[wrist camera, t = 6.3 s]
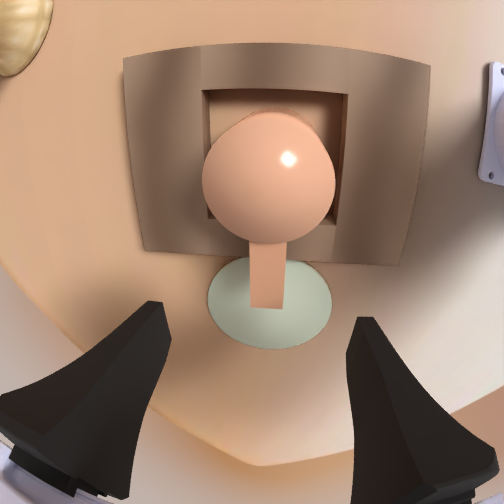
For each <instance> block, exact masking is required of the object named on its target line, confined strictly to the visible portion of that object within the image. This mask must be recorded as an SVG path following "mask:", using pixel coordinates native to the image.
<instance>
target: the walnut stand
mask: <svg viewBox="0 0 504 504" xmlns="http://www.w3.org/2000/svg"><path fill="white" fill-rule="evenodd" d="M430 70H431V66H430V65H427V64H423V63H419V62H415V61H411V60H407V59H403V58H398V57H394V56H389V55H384V54H379V53H373V52H368V51H362V50H355V49H348V48H340V47H331V46H321V45H309V44H292V43H234V44H217V45H205V46H195V47H186V48H178V49H171V50H164V51H158V52H152V53H147V54H141V55H136V56H131V57H127V58H123V74H124V94H125V109H126V122H127V133H128V143H129V152H130V160H131V168H132V176H133V183H134V190H135V196H136V203H137V209H138V215H139V221H140V226H141V232H142V237H143V242H144V247H145V251H155V252H170V253H186V254H202V255H217V256H233V257H250V253H249V240H246V239H243V238H241V237H239V236H237V235H235V234H234V233H232V232H230V231H229V230H228V229H226V228H225V227H224V226H223V225H222V224H221V223H220V222H219V221H218V220H217V219H216V218H215V216H214V215H213V214H212V212H211V210H210V209H209V207H208V205H207V202H206V200H205V196H204V193H203V187H202V172H203V166H204V162H205V159H206V157H207V155H208V152H209V151H210V149H211V144H210V115H209V89H235V88H271V89H296V90H312V91H324V92H334V93H343V107H342V124H341V139H340V151H339V163H338V174H337V184H336V193H335V202H334V211H333V215H329V214H326V215H325V217H324V218H323V220H322V221H321V222H320V223H319V224H318V225H317V226H316V227H315V228H314V229H313V230H311V231H310V232H308V233H307V234H306V235H304V236H302V237H300V238H298V239H295V240H292V241H289V242H287V249H286V260H299V261H316V262H334V263H351V264H369V265H387V266H399V263H400V259H401V255H402V252H403V248H404V244H405V240H406V236H407V232H408V228H409V224H410V220H411V215H412V211H413V206H414V201H415V196H416V191H417V186H418V181H419V175H420V169H421V163H422V157H423V150H424V142H425V135H426V126H427V116H428V105H429V91H430Z"/></svg>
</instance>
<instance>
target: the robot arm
mask: <svg viewBox="0 0 504 504" xmlns="http://www.w3.org/2000/svg"><path fill="white" fill-rule="evenodd" d="M501 69H502V70H503V75H502V73H501ZM490 172H491V176H490V177H489V173H490ZM478 176H479V178H480V179H481V180H483V181H485V182H489V183H493V184H497V185H501V186H504V65H503V64H501V63H499V62H496V61H493V62H491V63H490V66H489V93H488V106H487V117H486V126H485V134H484V141H483V147H482V153H481V159H480V164H479V170H478ZM171 340H172V339H171V335H170V331H169V327H168V323H167V319H166V315H165V311H164V307H163V303H162V302H156V301H147V302H146V303H145V304H143V305H142V306H141V307H140V308H139V309H138V310H137V311H136V312H134V313H133V314H132V315H131V316H130V317H129V318H128V319H127V320H125V321H124V322H123V323H122V324H121V325H120V326H119V327H117V328H116V329H115V330H114V331H113V332H112V333H110V334H109V335H108V336H107V337H106V338H104V339H103V340H102V341H101V342H99V343H98V344H97V345H96V346H94V347H93V348H92V349H90V350H89V351H88V352H86V353H85V354H84V355H82V356H81V357H79V358H78V359H76V360H75V361H73V362H72V363H70V364H69V365H67V366H65V367H63V368H62V369H60V370H58V371H56V372H55V373H53V374H51V375H49V376H47V377H45V378H43V379H41V380H39V381H37V382H35V383H32V384H30V385H28V386H25V387H23V388H20V389H17V390H14V391H11V392H8V393H5V394H2V395H1V396H0V432H1V433H2V434H3V435H4V436H5V437H7V438H8V439H9V440H10V441H11V442H12V443H14V444H15V445H14V447H13V449H12V448H10V447H9V446H8V445H6V444H5V443H3V442H2V441H1V440H0V504H113V503H110V502H108V501H105V500H103V499H100V498H98V497H97V495H98V494H99V495H102V496H104V497H107V495H109V496H112V497H114V498H118V499H120V500H123V499H126V498H128V497H129V490H130V480H131V473H132V466H133V460H134V455H135V450H136V446H137V441H138V437H139V432H140V429H141V424H142V421H143V417H144V414H145V411H146V408H147V406H148V403H149V401H150V398H151V396H152V393H153V391H154V388H155V386H156V384H157V381H158V379H159V376H160V374H161V372H162V369H163V367H164V364H165V362H166V358H167V355H168V351H169V347H170V343H171ZM346 372H347V383H348V390H349V397H350V404H351V411H352V419H353V426H354V472H353V485H352V496H351V503H350V504H472V502H471V499H472V498H474V497H475V488H477V487H479V486H480V485H482V484H484V483H485V482H487V481H489V480H490V479H492V478H493V477H494V476H496V475H497V474H498V472H499V470H500V469H499V465H498V461H497V456H496V452H495V449H494V448H493V447H491V446H490V445H488V444H487V443H485V442H484V441H482V440H481V439H479V438H477V437H476V436H475V435H473V434H472V433H471V432H469V431H468V430H467V429H465V428H464V427H463V426H462V425H460V424H459V423H458V422H457V421H456V420H455V419H454V418H453V417H451V416H450V415H449V414H448V413H447V412H446V411H445V410H444V409H443V408H442V407H441V406H440V405H439V404H438V403H437V402H436V401H435V400H434V399H433V398H432V397H431V396H430V394H429V393H428V392H427V391H426V390H425V389H424V388H423V387H422V385H421V384H420V383H419V382H418V380H417V379H416V378H415V377H414V375H413V374H412V373H411V371H410V370H409V369H408V367H407V366H406V365H405V363H404V362H403V360H402V359H401V358H400V356H399V355H398V353H397V352H396V351H395V349H394V348H393V346H392V345H391V343H390V342H389V340H388V339H387V337H386V336H385V334H384V332H383V331H382V329H381V328H380V326H379V325H378V323H377V322H376V320H375V319H374V318H373V317H357V320H356V323H355V326H354V330H353V333H352V336H351V339H350V342H349V345H348V348H347V352H346ZM475 504H504V499H503V493H501V492H500V493H498V494H496V495H494V496H491V497H489V498H487V499H484V500H482V501H480V502H477V503H475Z"/></svg>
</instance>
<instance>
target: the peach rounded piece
mask: <svg viewBox="0 0 504 504" xmlns="http://www.w3.org/2000/svg"><path fill="white" fill-rule="evenodd" d="M202 187H203V193H204V196H205V200H206V202H207V205H208V207H209V209H210V210H211V212H212V214H213V215H214V216H215V218H216V219H217V220H218V221H219V222H220V223H221V224H222V225H223V226H224V227H225V228H226V229H228V230H229V231H230V232H232V233H234V234H235V235H237V236H239V237H241V238H243V239H246V240H249V253H250V307H253V308H268V309H283V297H284V282H285V266H286V249H287V242H289V241H292V240H295V239H298V238H300V237H302V236H304V235H306V234H307V233H308V232H310V231H311V230H313V229H314V228H315V227H316V226H317V225H318V224H319V223H320V222H321V221H322V220H323V218H324V217H325V215H326V214H327V212H328V210H329V208H330V206H331V204H332V201H333V198H334V192H335V173H334V168H333V165H332V162H331V159H330V157H329V155H328V153H327V151H326V149H325V148H324V146H323V144H322V142H321V141H320V139H319V137H318V135H317V134H316V132H315V130H314V129H313V127H312V126H311V125H310V123H309V122H308V121H307V120H306V119H304V118H303V117H302V116H300V115H299V114H297V113H295V112H293V111H291V110H288V109H283V108H265V109H261V110H258V111H256V112H254V113H252V114H250V115H249V116H247V117H246V118H244V119H243V120H241V121H240V122H239V123H237V124H236V125H234V126H233V127H232V128H230V129H229V130H228V131H226V132H225V133H224V134H223V135H222V136H220V137H219V138H218V140H217V141H216V142H215V143H214V144H213V146H212V147H211V149H210V151H209V152H208V155H207V157H206V159H205V162H204V166H203V172H202Z"/></svg>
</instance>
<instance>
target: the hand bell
mask: <svg viewBox="0 0 504 504" xmlns="http://www.w3.org/2000/svg"><path fill="white" fill-rule="evenodd" d="M52 9H53V0H0V75H2V76H12V75H15V74H17V73H19V72H20V71H22V70H23V69H24V68H25V67H26V66H27V65H28V64H29V63H30V62H31V61H32V59H33V58H34V56H35V55H36V53H37V52H38V50H39V49H40V47H41V45H42V43H43V41H44V38H45V36H46V34H47V31H48V28H49V24H50V21H51V15H52Z"/></svg>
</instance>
